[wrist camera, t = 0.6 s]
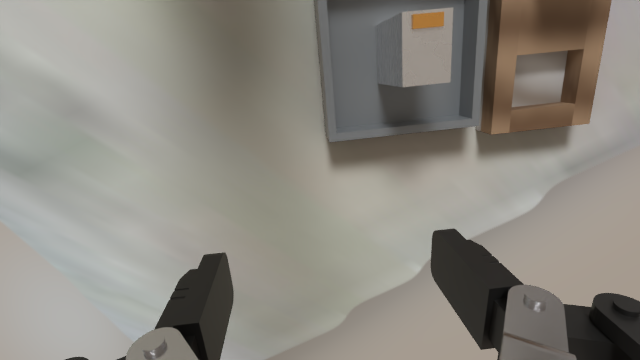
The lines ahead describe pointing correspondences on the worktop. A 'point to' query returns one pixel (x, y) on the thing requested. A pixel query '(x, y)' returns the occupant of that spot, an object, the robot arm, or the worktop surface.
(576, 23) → the pallet
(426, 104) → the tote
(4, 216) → the worktop surface
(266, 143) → the worktop surface
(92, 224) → the worktop surface
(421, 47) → the block
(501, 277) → the robot arm
